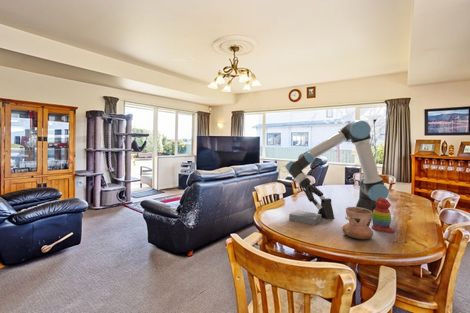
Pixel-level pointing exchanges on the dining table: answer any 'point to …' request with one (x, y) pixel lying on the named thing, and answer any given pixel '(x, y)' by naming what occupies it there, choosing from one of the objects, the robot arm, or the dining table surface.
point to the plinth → (305, 217)
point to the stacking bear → (382, 216)
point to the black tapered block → (326, 209)
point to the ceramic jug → (358, 223)
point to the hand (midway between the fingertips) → (324, 206)
